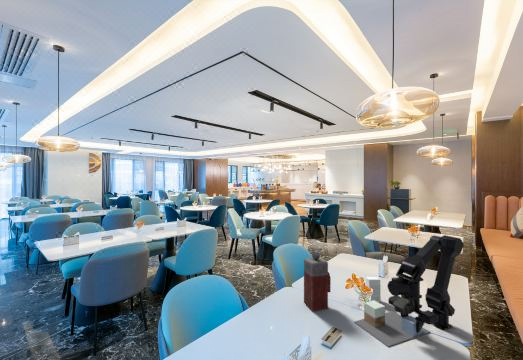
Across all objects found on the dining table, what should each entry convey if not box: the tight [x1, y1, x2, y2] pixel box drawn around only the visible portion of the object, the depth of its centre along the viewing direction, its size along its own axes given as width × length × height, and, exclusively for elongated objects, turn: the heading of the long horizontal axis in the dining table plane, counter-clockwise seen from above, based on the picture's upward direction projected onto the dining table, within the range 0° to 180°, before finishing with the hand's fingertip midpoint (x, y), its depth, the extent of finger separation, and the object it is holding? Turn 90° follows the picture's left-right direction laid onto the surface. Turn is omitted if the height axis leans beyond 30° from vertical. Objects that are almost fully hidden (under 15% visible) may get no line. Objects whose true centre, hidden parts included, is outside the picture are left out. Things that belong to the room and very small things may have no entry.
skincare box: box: [365, 276, 381, 303], centre depth 133 cm, size 6×4×12 cm
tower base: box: [363, 311, 385, 327], centre depth 113 cm, size 6×6×4 cm
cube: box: [402, 314, 422, 336], centre depth 106 cm, size 5×5×5 cm
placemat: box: [353, 310, 431, 348], centre depth 109 cm, size 24×18×1 cm
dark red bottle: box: [303, 249, 332, 312], centre depth 128 cm, size 9×11×28 cm
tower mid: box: [363, 300, 386, 318], centre depth 112 cm, size 6×6×4 cm
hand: (411, 329), depth 106 cm, fingers closed on cube, 5 cm apart
